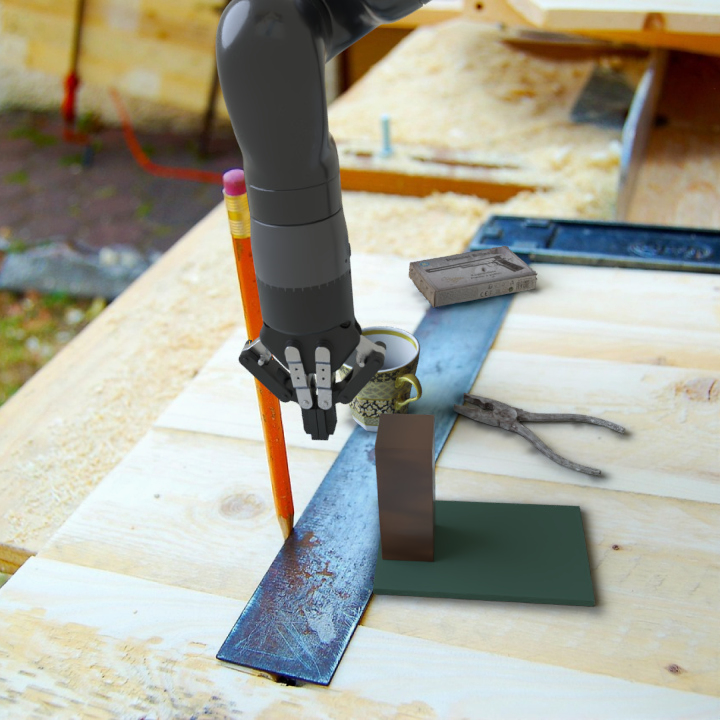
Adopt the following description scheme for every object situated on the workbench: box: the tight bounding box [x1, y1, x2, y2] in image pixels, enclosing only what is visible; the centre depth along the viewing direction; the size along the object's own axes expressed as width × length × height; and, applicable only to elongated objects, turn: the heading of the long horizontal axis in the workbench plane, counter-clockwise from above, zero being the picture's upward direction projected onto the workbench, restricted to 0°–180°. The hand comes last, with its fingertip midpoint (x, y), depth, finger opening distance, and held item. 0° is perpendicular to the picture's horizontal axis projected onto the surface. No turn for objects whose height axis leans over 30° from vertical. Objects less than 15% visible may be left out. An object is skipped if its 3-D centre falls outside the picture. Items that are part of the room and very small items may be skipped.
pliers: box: [452, 392, 626, 476], centre depth 89 cm, size 10×1×20 cm
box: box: [407, 245, 538, 309], centre depth 120 cm, size 11×17×3 cm, turn 108°
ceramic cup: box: [337, 325, 423, 433], centre depth 90 cm, size 13×10×10 cm
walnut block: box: [373, 413, 437, 562], centre depth 72 cm, size 5×5×14 cm
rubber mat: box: [372, 499, 596, 607], centre depth 75 cm, size 20×12×1 cm, turn 83°
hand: (322, 434), depth 69 cm, fingers closed
